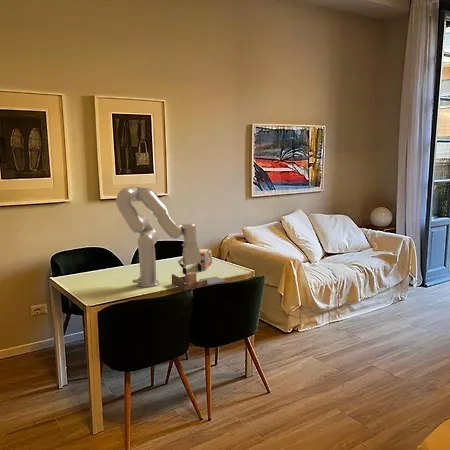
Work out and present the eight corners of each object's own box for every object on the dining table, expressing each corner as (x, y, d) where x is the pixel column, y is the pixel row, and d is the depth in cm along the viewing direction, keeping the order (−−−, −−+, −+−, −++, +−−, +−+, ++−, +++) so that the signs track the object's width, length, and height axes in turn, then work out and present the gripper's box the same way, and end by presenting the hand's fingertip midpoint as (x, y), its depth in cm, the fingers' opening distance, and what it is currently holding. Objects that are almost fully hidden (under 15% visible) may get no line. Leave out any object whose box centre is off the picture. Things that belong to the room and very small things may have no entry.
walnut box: (182, 290, 264) (182, 280, 263) (171, 284, 277) (171, 274, 276) (207, 285, 273) (207, 276, 272) (195, 279, 285) (195, 270, 284)
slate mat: (209, 284, 275) (209, 284, 275) (199, 280, 285) (199, 279, 285) (226, 281, 281) (226, 280, 281) (216, 277, 291) (216, 276, 291)
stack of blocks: (203, 262, 328) (203, 245, 326) (212, 263, 327) (212, 246, 325) (196, 270, 308) (195, 252, 306) (205, 270, 306) (205, 252, 304)
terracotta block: (189, 286, 272) (188, 275, 271) (185, 284, 276) (185, 273, 275) (196, 285, 274) (196, 273, 273) (192, 283, 279) (192, 271, 278)
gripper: (179, 247, 264) (181, 276, 266) (206, 243, 272) (208, 271, 275) (174, 245, 270) (176, 274, 273) (200, 241, 279) (202, 268, 282)
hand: (192, 272), depth 274 cm, fingers open, 9 cm apart
